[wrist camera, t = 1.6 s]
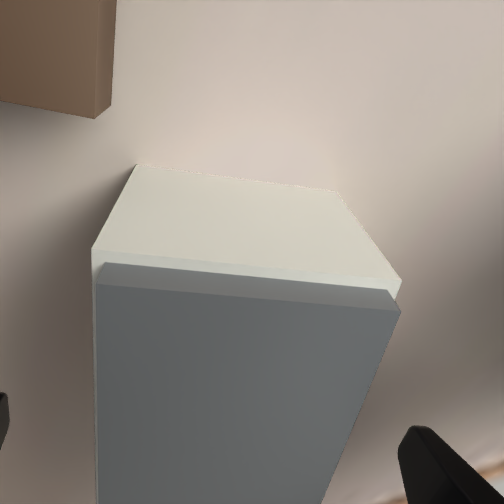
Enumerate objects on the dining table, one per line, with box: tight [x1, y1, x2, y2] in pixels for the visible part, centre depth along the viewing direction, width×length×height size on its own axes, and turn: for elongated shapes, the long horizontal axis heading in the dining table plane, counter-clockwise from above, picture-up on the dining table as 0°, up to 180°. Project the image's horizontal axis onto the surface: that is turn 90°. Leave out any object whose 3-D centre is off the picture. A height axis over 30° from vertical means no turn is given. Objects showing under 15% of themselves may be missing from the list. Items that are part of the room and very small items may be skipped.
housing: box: [91, 164, 402, 504], centre depth 10 cm, size 9×5×5 cm, turn 170°
